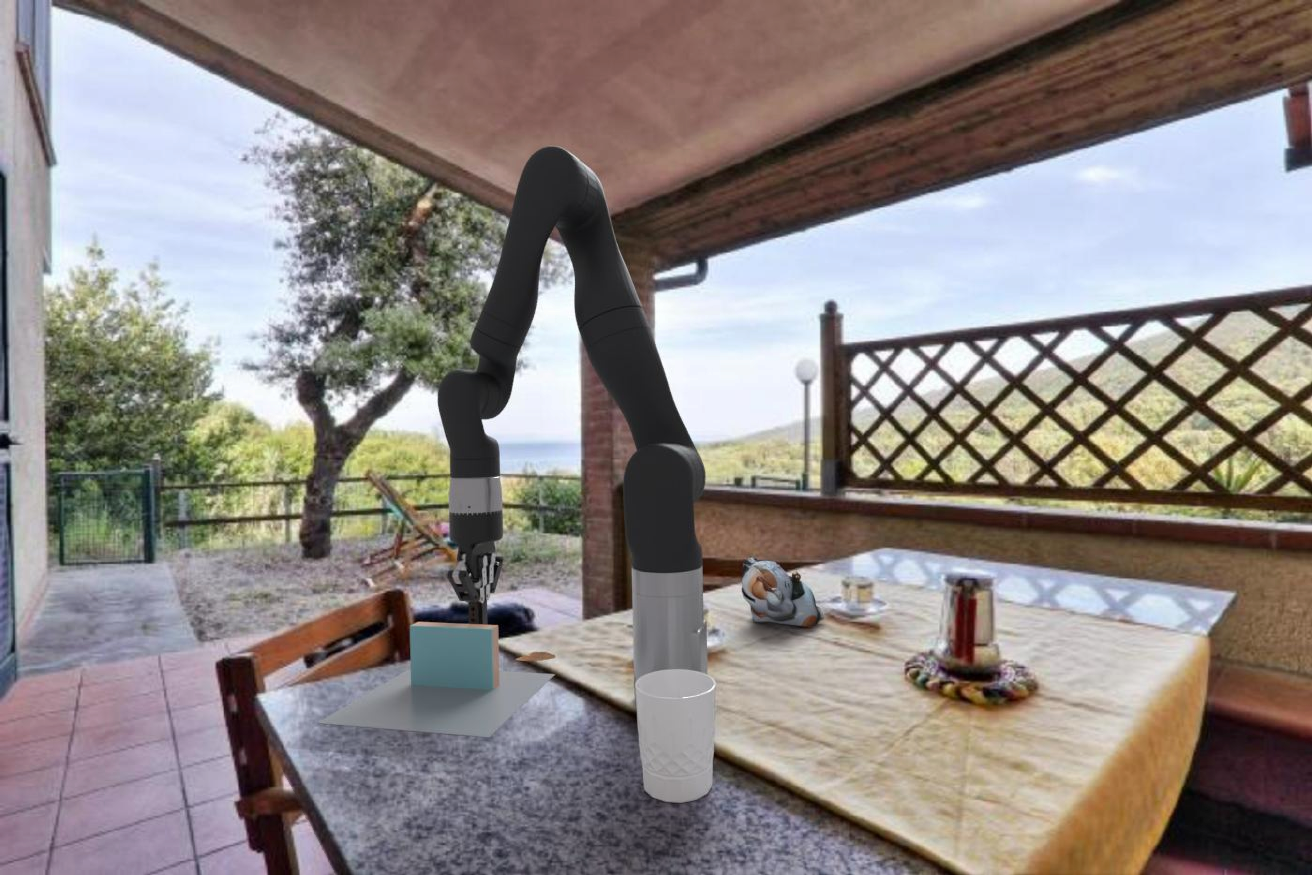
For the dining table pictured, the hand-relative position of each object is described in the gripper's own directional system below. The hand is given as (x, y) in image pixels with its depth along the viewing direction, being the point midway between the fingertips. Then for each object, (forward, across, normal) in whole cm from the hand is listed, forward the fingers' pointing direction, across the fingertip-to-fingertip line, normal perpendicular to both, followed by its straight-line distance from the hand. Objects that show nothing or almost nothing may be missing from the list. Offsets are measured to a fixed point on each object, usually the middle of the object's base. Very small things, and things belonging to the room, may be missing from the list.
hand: (478, 627), depth 97 cm
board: (+7, -11, -1) cm, 13 cm away
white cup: (+7, -25, -34) cm, 43 cm away
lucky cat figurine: (+7, +35, -42) cm, 55 cm away
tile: (+6, -7, 0) cm, 9 cm away
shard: (+8, +7, -9) cm, 14 cm away
